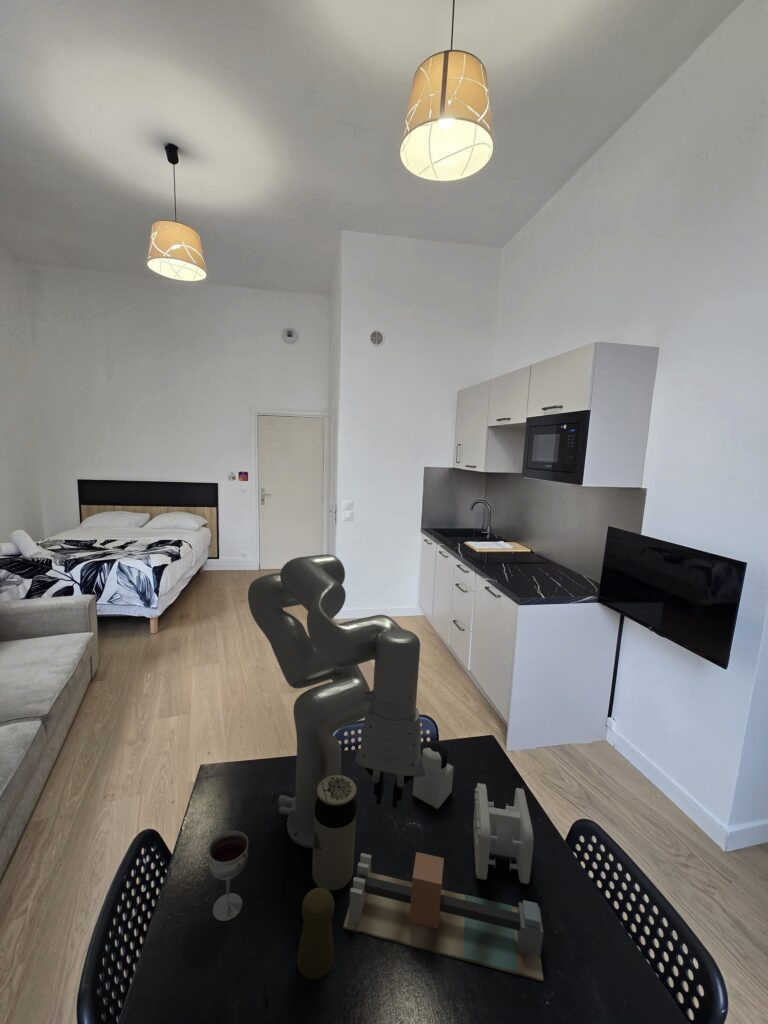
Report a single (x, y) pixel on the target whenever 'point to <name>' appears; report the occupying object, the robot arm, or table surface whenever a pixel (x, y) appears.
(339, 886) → the travel mug
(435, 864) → the brown rectangular block
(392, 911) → the board
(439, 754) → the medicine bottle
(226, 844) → the wineglass
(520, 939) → the connector
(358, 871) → the cable comb
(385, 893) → the dark grey bar
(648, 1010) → the table surface
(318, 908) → the yellow peg figure
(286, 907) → the table surface
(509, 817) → the cable organizer
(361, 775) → the table surface
